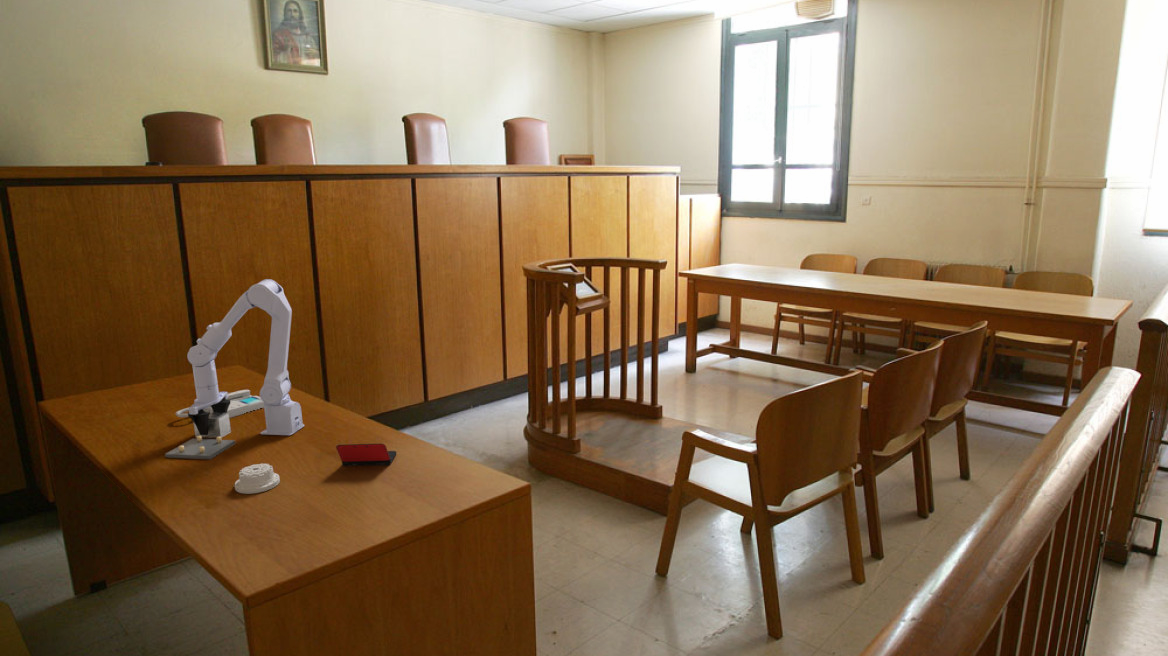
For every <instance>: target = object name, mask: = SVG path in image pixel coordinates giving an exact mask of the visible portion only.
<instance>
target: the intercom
mask: <svg viewBox="0 0 1168 656" xmlns="http://www.w3.org/2000/svg"><path fill="white" fill-rule="evenodd" d="M226 400H230V405H229V407H228V410H227V413H228V414H229V419H230V418H234V417H237V416H242V415H244V413H245V414H247V413H246V412H248V413H251V412H250V411H252V412H254V411H253V410H255V411H258V410H261V409H260V408H262V409H264V402H263V401H262V399H261V398H260V395H259V396H258V395H251V390H249V389H242V390H241V389H240V390H237V391H234V392H228V398H227V399H226ZM257 409H258V410H257ZM203 411H205V412H213V410H212V407H211V406H209V407H207V408H205V409H203ZM188 412H189V407H186V408H183V409H180V410H177V411H176V412H175V413H174V414H175V415H176V416H177V417H178V418H190V417H189V416H188Z"/></svg>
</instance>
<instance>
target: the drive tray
mask: <svg viewBox="0 0 1168 656" xmlns="http://www.w3.org/2000/svg"><path fill="white" fill-rule="evenodd" d="M235 445H236V440H235V439H222V438H221V437H216V438H213V439H212V438H203V437H201V436H197V437H196V438H191V439H189V440H187V441H186V442H184V443H182V444H180V445H179V446H177V447H175V448H173V449H171V450H169V451H168V452H166V453H164V454H165V458H169V459H174V458H175V459H196V460H212V459H213V458H215V457H217V456H219V455H220V454H221V453H223V452H225V451H226V450H228V449H229V447H230V448H232V446H235ZM224 450H225V451H224ZM219 453H220V454H219ZM216 455H217V456H216Z"/></svg>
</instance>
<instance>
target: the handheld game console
mask: <svg viewBox="0 0 1168 656" xmlns="http://www.w3.org/2000/svg"><path fill="white" fill-rule="evenodd" d="M335 448H336V451H337V453H338V456H339V458H340V460H341V465H342V467H356V466H357V467H359V466H360V467H361V466H390V465H392V462H393V461H394V459H395V458H396V456H397V451H396V450H388V449H387V446H386V444H385V443H357V444H356V443H353V444H352V443H350V444H337V445H336V446H335Z"/></svg>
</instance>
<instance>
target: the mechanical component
mask: <svg viewBox="0 0 1168 656" xmlns="http://www.w3.org/2000/svg"><path fill="white" fill-rule="evenodd" d="M238 477H239V479H237V480H236V481H235V483H234V490H235V492H236V493H239V494H246V495H248V494H249V495H250V494H251V495H252V494H258V493H262V492H266V491H270V490H271V489H273V488H275V487H277V486H278V485H279V484H280V482H281V480H280V475H279V473H275V472H274V468H273V465H270V463H262V462H261V463H260V464H259V463H257V464H252V465H249V466H245V467H243V468H241V469H240V470H239V472H238Z"/></svg>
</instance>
